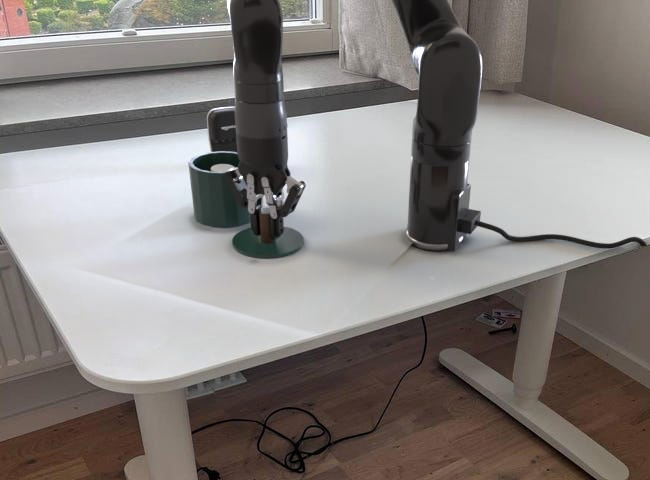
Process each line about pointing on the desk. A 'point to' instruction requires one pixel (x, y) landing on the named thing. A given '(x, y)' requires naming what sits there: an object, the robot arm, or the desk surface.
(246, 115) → the robot arm
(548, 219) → the desk surface
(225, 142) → the battery charger
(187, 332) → the desk surface
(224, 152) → the tin
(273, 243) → the lid
